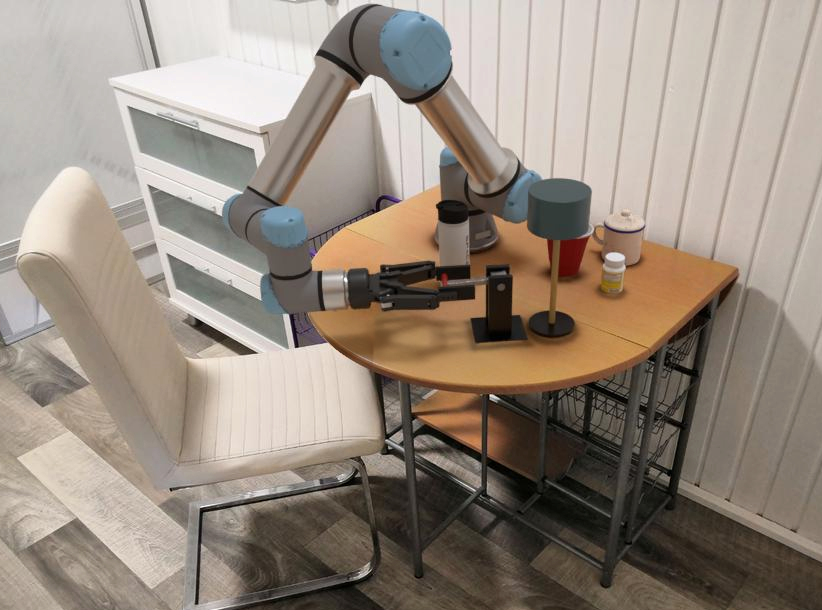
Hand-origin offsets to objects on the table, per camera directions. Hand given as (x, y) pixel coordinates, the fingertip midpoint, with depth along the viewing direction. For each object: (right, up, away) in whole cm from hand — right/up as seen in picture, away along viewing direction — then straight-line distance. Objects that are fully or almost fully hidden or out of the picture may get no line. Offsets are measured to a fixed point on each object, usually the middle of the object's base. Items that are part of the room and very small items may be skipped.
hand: (472, 281), depth 137 cm
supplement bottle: (+30, 0, +20) cm, 36 cm away
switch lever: (0, -1, +1) cm, 1 cm away
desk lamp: (+16, -9, +8) cm, 20 cm away
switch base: (+5, -9, +7) cm, 13 cm away
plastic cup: (+21, +4, +27) cm, 34 cm away
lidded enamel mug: (+33, +9, +33) cm, 48 cm away
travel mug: (-4, 0, +21) cm, 22 cm away
